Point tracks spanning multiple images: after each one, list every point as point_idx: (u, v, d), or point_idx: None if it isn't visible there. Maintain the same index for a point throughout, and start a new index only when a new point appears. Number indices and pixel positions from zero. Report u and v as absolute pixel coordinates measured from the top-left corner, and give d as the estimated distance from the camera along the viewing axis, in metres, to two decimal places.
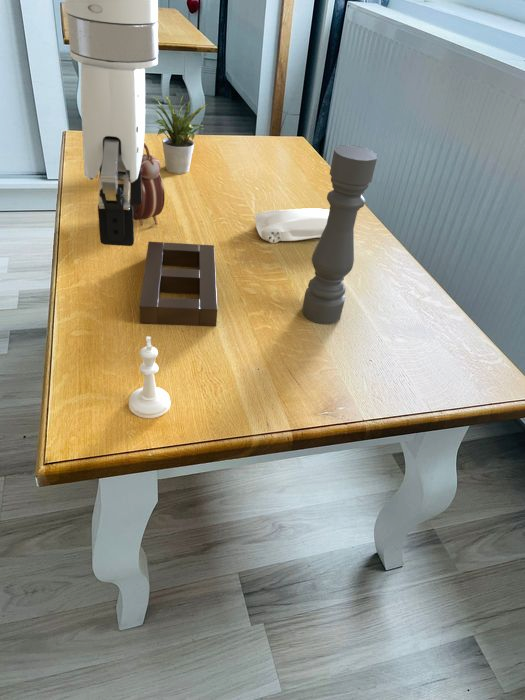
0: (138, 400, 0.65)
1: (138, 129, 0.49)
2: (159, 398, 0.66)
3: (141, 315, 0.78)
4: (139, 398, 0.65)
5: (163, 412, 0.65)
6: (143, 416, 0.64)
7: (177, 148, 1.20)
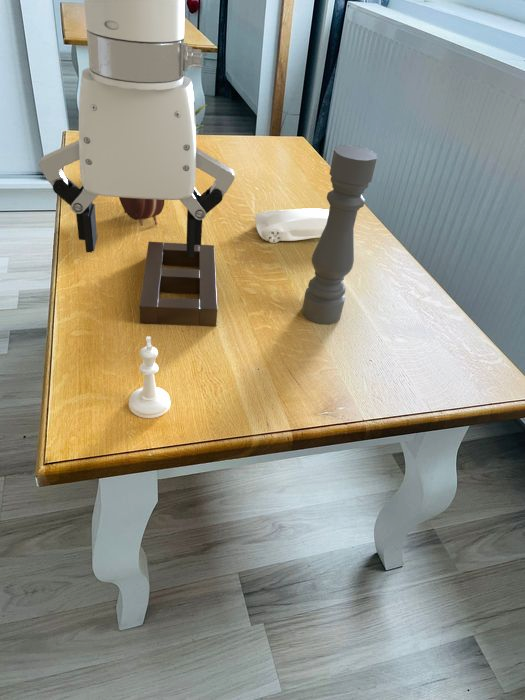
0: (138, 400, 0.65)
1: (92, 142, 0.46)
2: (159, 398, 0.66)
3: (141, 315, 0.78)
4: (139, 398, 0.65)
5: (163, 412, 0.65)
6: (143, 416, 0.64)
7: None
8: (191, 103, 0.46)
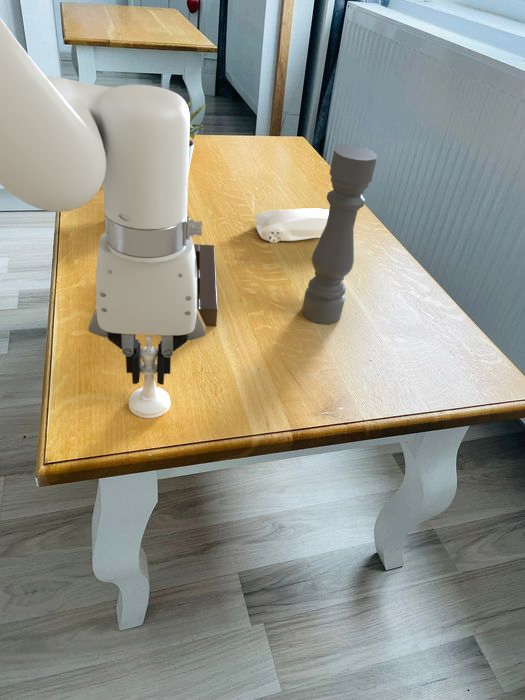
0: (138, 400, 0.65)
1: (108, 296, 0.54)
2: (159, 398, 0.66)
3: None
4: (139, 398, 0.65)
5: (163, 412, 0.65)
6: (143, 416, 0.64)
7: None
8: (192, 264, 0.54)
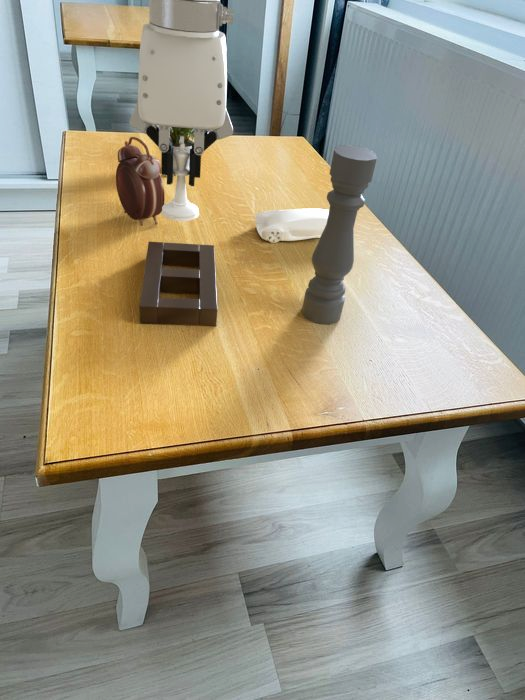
0: (170, 206, 0.72)
1: (149, 79, 0.61)
2: (189, 206, 0.73)
3: (141, 315, 0.78)
4: (171, 205, 0.72)
5: (193, 218, 0.72)
6: (175, 219, 0.72)
7: (177, 148, 1.20)
8: (224, 50, 0.61)
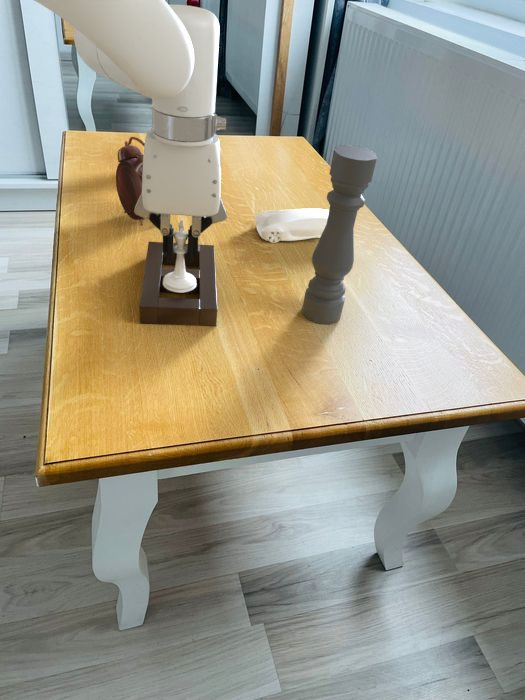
0: (171, 279, 0.80)
1: (152, 178, 0.69)
2: (187, 278, 0.81)
3: (141, 315, 0.78)
4: (171, 277, 0.80)
5: (191, 289, 0.80)
6: (175, 291, 0.80)
7: None
8: (218, 153, 0.69)
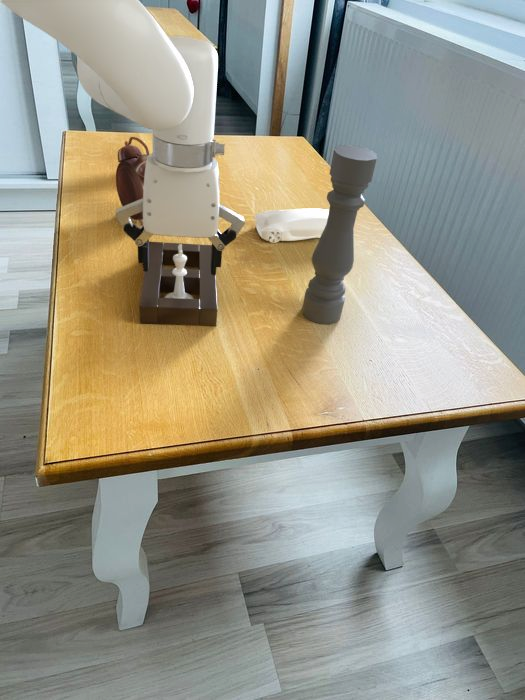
0: None
1: (152, 202, 0.71)
2: (186, 298, 0.83)
3: (141, 315, 0.78)
4: None
5: None
6: None
7: None
8: (217, 177, 0.71)
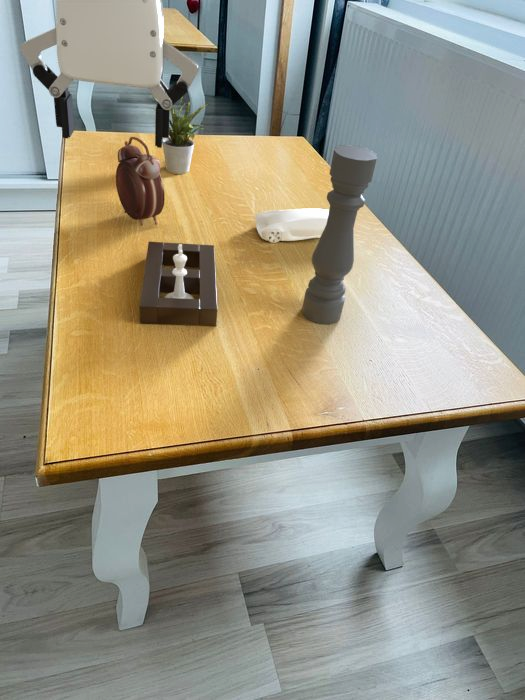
0: None
1: (68, 23, 0.52)
2: None
3: (141, 315, 0.78)
4: None
5: None
6: None
7: (177, 148, 1.20)
8: None
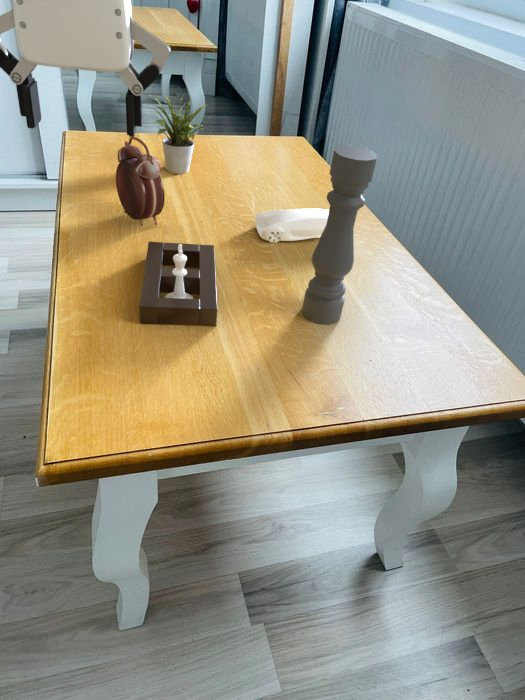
0: None
1: (25, 3, 0.48)
2: None
3: (141, 315, 0.78)
4: None
5: None
6: None
7: (177, 148, 1.20)
8: None
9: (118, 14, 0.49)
